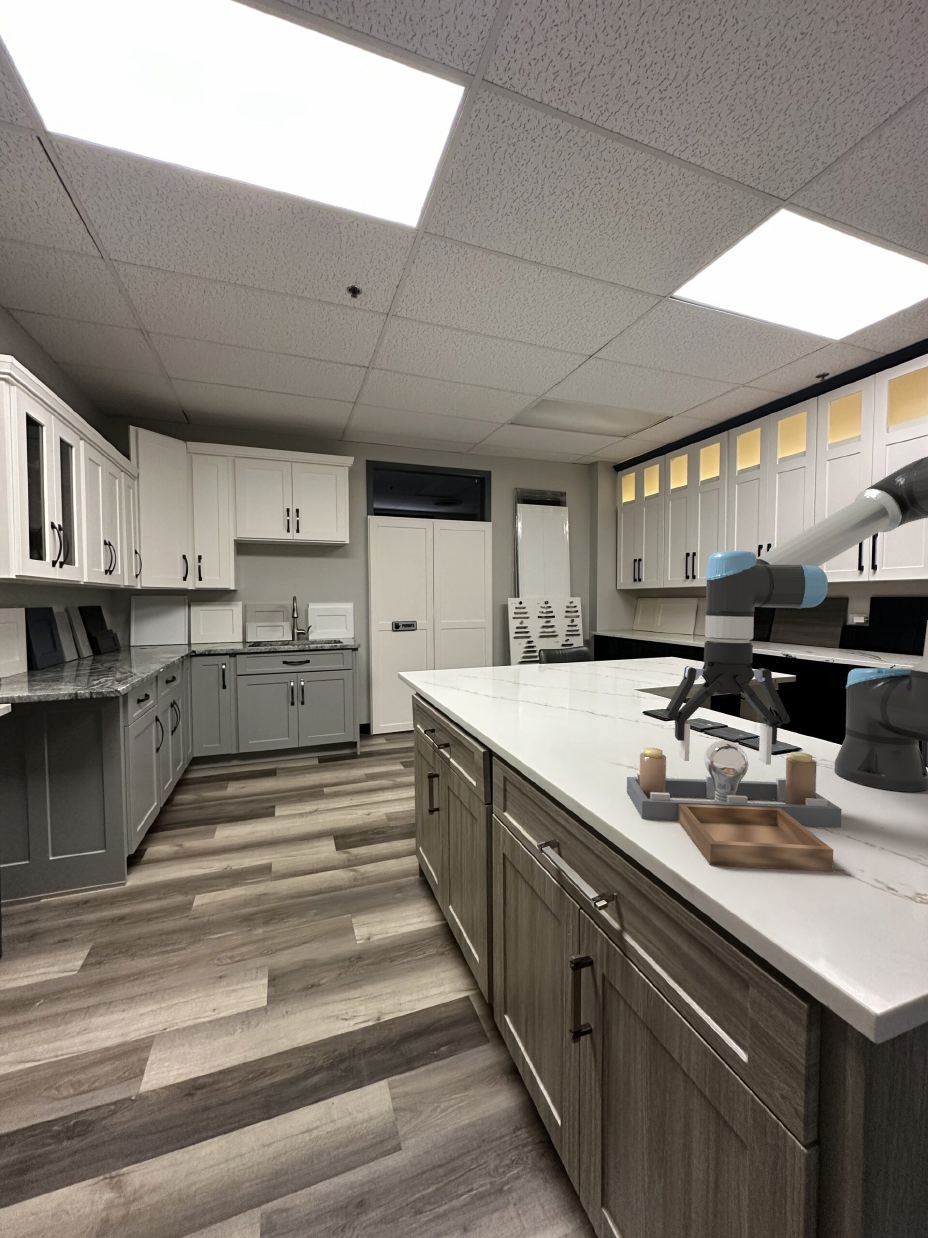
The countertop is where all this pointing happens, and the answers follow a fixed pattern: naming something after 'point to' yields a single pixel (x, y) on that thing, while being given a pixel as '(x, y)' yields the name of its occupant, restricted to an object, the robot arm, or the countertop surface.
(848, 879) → the countertop surface
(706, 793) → the holder
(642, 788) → the cylinder
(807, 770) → the cylinder
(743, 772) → the light bulb
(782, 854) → the tray
